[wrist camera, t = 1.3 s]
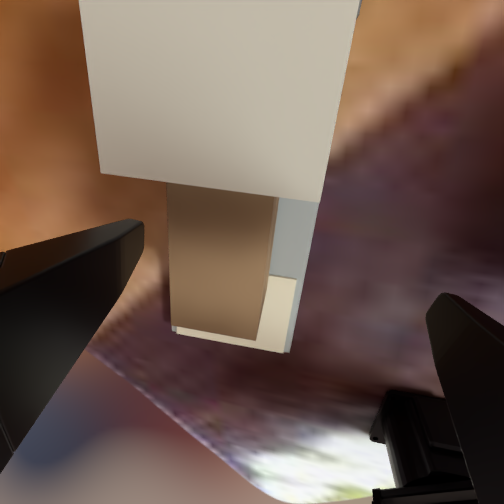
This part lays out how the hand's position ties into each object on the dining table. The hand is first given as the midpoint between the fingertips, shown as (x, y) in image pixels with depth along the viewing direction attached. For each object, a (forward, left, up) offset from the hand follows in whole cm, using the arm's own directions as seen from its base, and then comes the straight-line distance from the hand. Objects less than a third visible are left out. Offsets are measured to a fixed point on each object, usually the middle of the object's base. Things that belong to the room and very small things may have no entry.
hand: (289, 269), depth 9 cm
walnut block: (-1, +4, -11) cm, 11 cm away
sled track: (0, +4, -12) cm, 13 cm away
